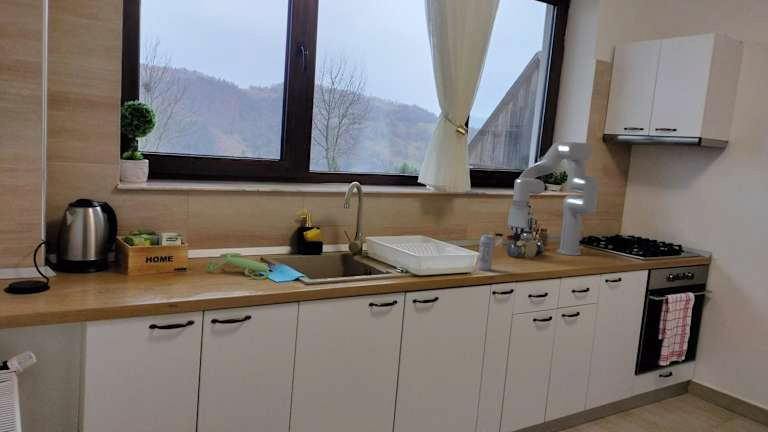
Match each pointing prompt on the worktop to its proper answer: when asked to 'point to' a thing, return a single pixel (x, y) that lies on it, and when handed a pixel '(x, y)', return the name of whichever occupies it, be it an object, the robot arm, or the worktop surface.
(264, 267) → the figurine
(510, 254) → the valve
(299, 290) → the worktop surface
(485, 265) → the energy drink can
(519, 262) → the worktop surface
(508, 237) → the lever
